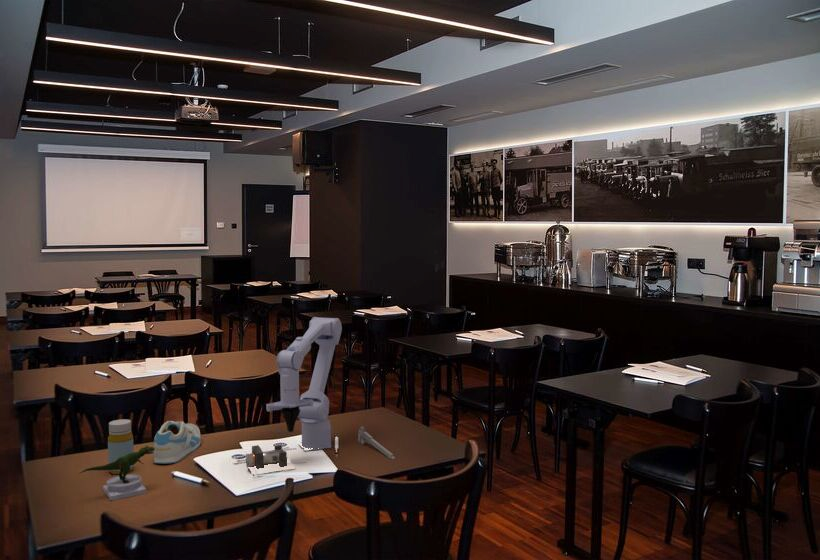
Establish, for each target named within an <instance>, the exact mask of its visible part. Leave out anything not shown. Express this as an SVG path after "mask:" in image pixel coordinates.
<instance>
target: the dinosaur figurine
mask: <svg viewBox="0 0 820 560" xmlns="http://www.w3.org/2000/svg"><path fill="white" fill-rule="evenodd" d="M154 450H155V449H154V446H149V445H145V446H143V447H140V449H138V451H135V452H133V453H129V454H127V455H126V456H123V457H120V458H118V459H117V460H116V461H114V462H112V463H109V462H108V463H107V464H105V465H98V466H93V467H89V468H86V469H84V470H82V471H80V472H79V474H82V473H85V472H88V471H89V472H90V471H109V470H120V473H119V474H118V475H116V476H113V477H111V478H109V479H107V481H106V485H103V486H102V489H103V492H104V493H105V495H106V496H107V498H108V497H109V498H108V500H113V501H116V499H117V500H120V499H121V498H122V499H126V498H131V497H134V496H139V495H144V494H147V488H146V487H145V486H144V485H143V483H142V479H143V478H142V476H141V475H138V474H134V473H133V474H131V473H130V472H129V471H130V466H131V465H134V466H135V465H136V463H137V462H139V463H140V464H145V463H143V462H142V461H141V460H140V459H141V458H142V457H144V456H145V455H151V454H154ZM123 472H124V473H123ZM122 473H123V474H122ZM129 473H130V474H129ZM122 499H121V500H122Z"/></svg>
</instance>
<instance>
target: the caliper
mask: <svg viewBox="0 0 820 560" xmlns="http://www.w3.org/2000/svg"><path fill="white" fill-rule="evenodd" d="M365 430H366V428H365V427H364V426H360V429H358V435H357V436H358V438H357V442H358V444H360V445H361V446H362V445H365V443H367V444H368V445H372V446H373V447H375V448H376V449H377V450H378V451H379V452H380V453H382V454H383V455H385V456H386V457H387V458H389V459H391V460H396V457H395V456H394V454H393V453H392V452H391V451H389V450H388V449H387V448H385V447H384V446H383V445H381V444H380V443H379V442H378V441H376V440H375V439H374V438H373V436H372V435H370V433H368V432H367V431H365Z"/></svg>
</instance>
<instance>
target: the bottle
mask: <svg viewBox="0 0 820 560" xmlns="http://www.w3.org/2000/svg"><path fill="white" fill-rule="evenodd" d="M108 433H109V434H108V437H107V457H108V458H107V459H108V464H109V463H112V462H114V461H116V460H117V459H118V458H120V457H123V456H126V455H127V454H129V453H133V452H134V449H135V447H134V435H133V432H132V420H131V419H126V418H125V419H124V418H123V419H121V418H120V419H116V420H115V419H114V420H112V421H109V422H108ZM134 468H135V464H134V465H131V466H130V471H129V473H131V472H132V471H133V470H134ZM108 471H109V473H111V474H112V475H119V473H120V470H108ZM123 473H124V472H123ZM123 473H122V475H123Z"/></svg>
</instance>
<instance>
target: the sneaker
mask: <svg viewBox="0 0 820 560" xmlns="http://www.w3.org/2000/svg"><path fill="white" fill-rule="evenodd" d="M153 438H154V439H153V447H154V449H155V450H154V453H153V457H154V458H153V463H154V464H163V465H164V464H165V465H166V464H176V463H178V462H180V461H181V460H183V459H184V458H185V457H187V456H188V455H189V454H191V453H192V452H195V451H196V450H197V449H198V448H199V447H201V443H202V439H201V431H200V428H199V426H197V425H196V424H194V423H188V422H187V423H185V422H184V421H173V420H167V421H166V422H164V423H163V424H162V425H161V426H160V429H159V430H157V432H156V434H155V436H154V437H153Z"/></svg>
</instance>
